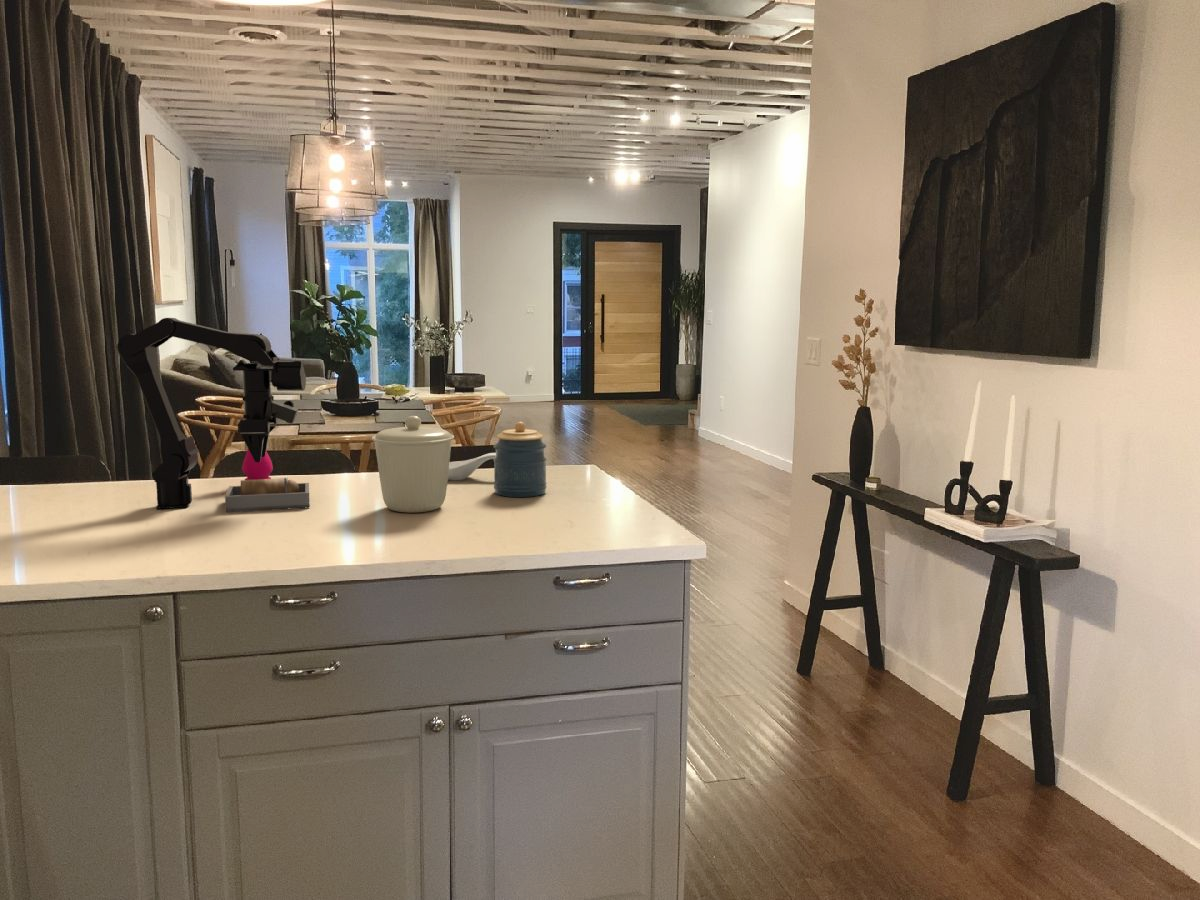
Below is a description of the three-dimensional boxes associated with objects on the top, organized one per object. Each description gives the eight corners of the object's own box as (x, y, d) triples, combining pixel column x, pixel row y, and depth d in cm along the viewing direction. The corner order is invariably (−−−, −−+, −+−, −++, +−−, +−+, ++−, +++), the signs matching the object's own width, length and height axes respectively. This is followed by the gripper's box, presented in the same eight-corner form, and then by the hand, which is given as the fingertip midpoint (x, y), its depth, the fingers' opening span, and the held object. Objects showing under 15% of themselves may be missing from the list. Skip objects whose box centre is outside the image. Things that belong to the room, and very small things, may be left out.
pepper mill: (267, 488, 234) (263, 408, 231) (238, 487, 234) (234, 407, 231) (277, 482, 241) (274, 405, 238) (249, 482, 242) (246, 404, 239)
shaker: (240, 479, 212) (298, 476, 216) (241, 481, 216) (298, 478, 220) (241, 500, 211) (299, 497, 215) (242, 502, 216) (299, 499, 220)
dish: (225, 512, 206) (225, 496, 206) (230, 501, 218) (229, 486, 218) (309, 508, 211) (309, 492, 211) (309, 497, 223) (308, 482, 223)
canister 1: (437, 519, 202) (436, 421, 199) (359, 514, 205) (356, 419, 202) (466, 502, 219) (465, 412, 216) (393, 498, 223) (391, 410, 220)
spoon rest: (425, 482, 245) (425, 455, 244) (436, 474, 257) (436, 448, 256) (515, 484, 244) (515, 457, 242) (522, 476, 255) (522, 450, 254)
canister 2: (550, 488, 237) (550, 419, 235) (542, 498, 225) (542, 425, 222) (499, 487, 239) (499, 418, 236) (488, 497, 226) (488, 424, 223)
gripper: (290, 394, 203) (293, 465, 205) (298, 387, 221) (301, 452, 224) (235, 394, 201) (239, 466, 203) (249, 387, 219) (251, 453, 221)
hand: (260, 459), depth 213 cm, fingers open, 7 cm apart
